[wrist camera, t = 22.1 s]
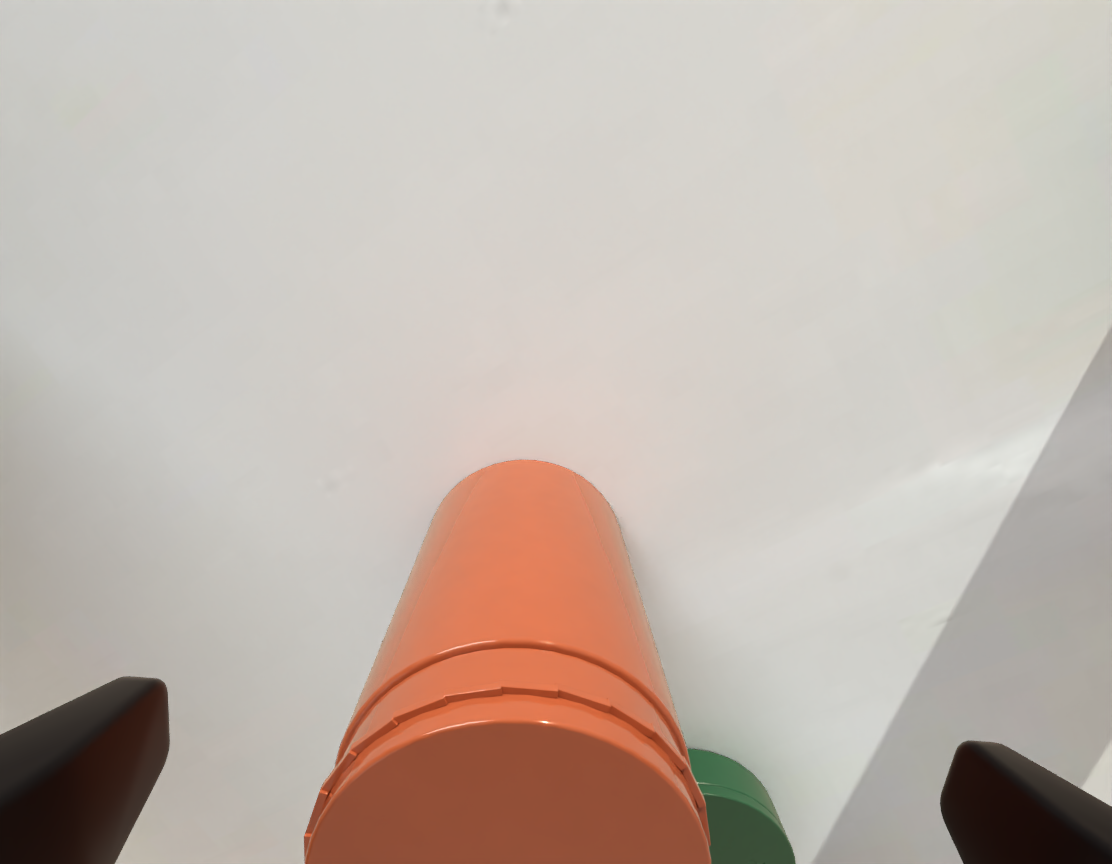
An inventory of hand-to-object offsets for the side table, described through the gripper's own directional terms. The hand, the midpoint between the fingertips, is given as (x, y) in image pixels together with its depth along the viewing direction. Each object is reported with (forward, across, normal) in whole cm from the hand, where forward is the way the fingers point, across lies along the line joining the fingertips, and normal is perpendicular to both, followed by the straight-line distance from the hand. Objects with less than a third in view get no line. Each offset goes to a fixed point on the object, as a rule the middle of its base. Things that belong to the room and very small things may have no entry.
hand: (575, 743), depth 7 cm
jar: (+11, 0, +3) cm, 12 cm away
